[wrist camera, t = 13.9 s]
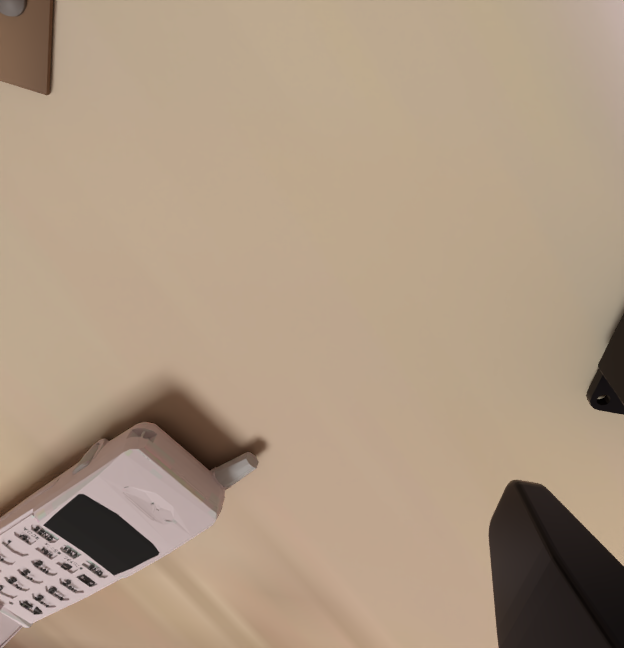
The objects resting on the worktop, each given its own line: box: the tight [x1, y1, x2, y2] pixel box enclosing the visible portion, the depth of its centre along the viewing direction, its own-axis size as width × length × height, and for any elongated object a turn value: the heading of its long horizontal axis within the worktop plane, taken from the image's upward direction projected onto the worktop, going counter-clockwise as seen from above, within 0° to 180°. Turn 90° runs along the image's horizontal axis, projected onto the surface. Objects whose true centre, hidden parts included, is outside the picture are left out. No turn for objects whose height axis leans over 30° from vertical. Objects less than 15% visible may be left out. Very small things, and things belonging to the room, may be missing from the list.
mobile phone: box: [0, 422, 258, 648], centre depth 26 cm, size 6×6×25 cm
